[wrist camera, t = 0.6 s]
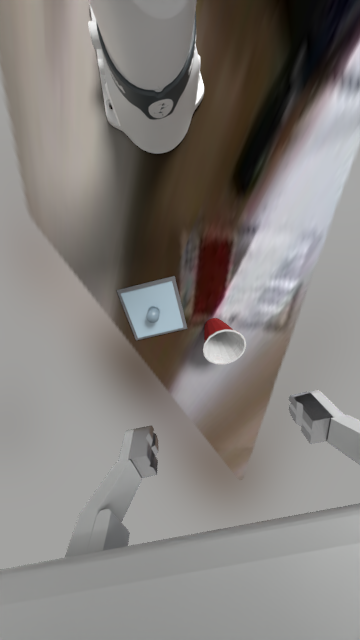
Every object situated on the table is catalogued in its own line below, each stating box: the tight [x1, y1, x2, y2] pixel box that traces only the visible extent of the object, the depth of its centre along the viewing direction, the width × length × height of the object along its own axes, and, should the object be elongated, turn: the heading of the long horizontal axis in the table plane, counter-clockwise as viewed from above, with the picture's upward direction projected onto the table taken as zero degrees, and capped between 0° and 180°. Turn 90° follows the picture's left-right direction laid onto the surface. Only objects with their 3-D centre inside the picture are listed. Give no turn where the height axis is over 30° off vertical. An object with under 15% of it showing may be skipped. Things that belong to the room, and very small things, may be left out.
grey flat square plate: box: [117, 276, 187, 340], centre depth 51 cm, size 16×16×1 cm
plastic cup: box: [203, 318, 246, 365], centre depth 49 cm, size 11×11×12 cm
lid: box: [121, 281, 183, 338], centre depth 48 cm, size 14×14×5 cm
